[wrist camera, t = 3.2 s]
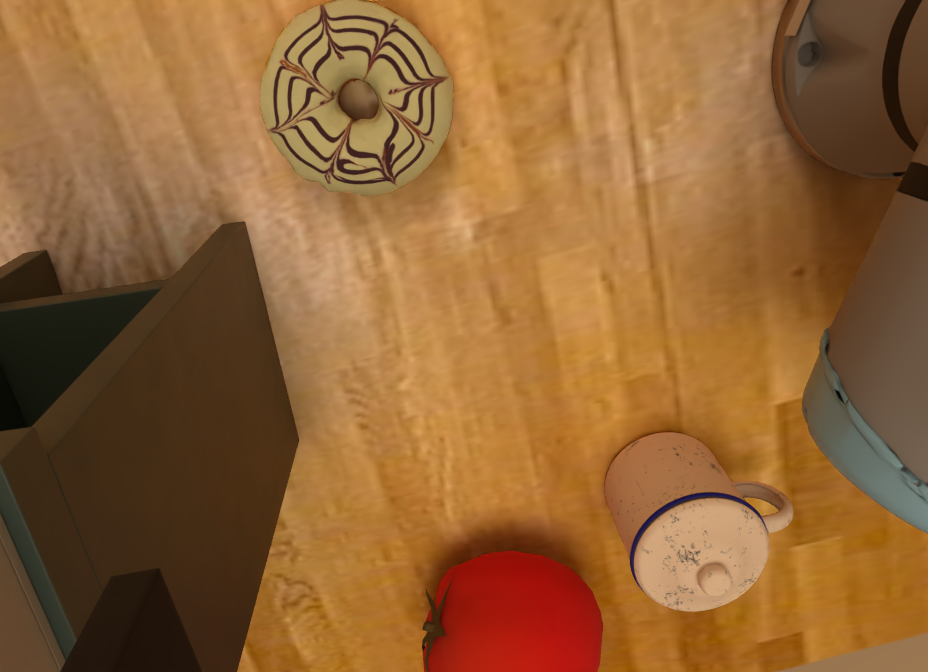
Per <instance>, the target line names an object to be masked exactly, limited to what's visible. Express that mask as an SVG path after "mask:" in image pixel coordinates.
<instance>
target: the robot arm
mask: <svg viewBox="0 0 928 672" xmlns="http://www.w3.org/2000/svg"><path fill="white" fill-rule="evenodd" d="M772 75H773V86H774V93H775V98H776V102H777V106H778V108H779V111H780V114H781V117H782V119H783V121H784V123H785V125H786V127H787V128H788V130H789V132H790V133H791V135H792V136H793V138H794V139H795V140H796V141H797V143H798V144H799V145H800V146H801V147H802V148H803V149H804V150H805V151H806V152H808V153H809V154H810V155H811V156H813V157H814V158H815V159H817V160H819V161H820V162H822V163H824V164H826V165H828V166H830V167H832V168H835V169H838V170H841V171H844V172H847V173H850V174H853V175H856V176H861V177H866V178H875V179H891V178H903V179H902V181H901V183H900V185H899V188H898V190H897V191H896V193H895V195H894V197H893V199H892V201H891V203H890V205H889V207H888V210H887V212H886V214H885V216H884V218H883V220H882V222H881V224H880V226H879V228H878V230H877V232H876V234H875V236H874V238H873V240H872V242H871V244H870V246H869V248H868V250H867V253H866V255H865V257H864V259H863V261H862V263H861V265H860V267H859V269H858V271H857V273H856V275H855V277H854V279H853V281H852V283H851V285H850V287H849V289H848V291H847V293H846V295H845V298H844V300H843V302H842V304H841V306H840V308H839V310H838V312H837V314H836V316H835V318H834V320H833V322H832V324H831V326H830V327H829V328H827V329H826V330H825V331H824V333H823V335H822V338H821V340H820V347H819V350H820V353H819V356H818V358H817V361H816V363H815V365H814V368H813V370H812V373H811V375H810V377H809V380H808V382H807V385H806V387H805V390H804V393H803V400H802V409H803V414H804V417H805V420H806V423H807V424H808V429H809V432H810V434H811V436H812V438H813V439H814V441H815V443H816V444H817V446H818V447H819V449H820V450H821V451H822V452H823V454H824V455H825V456H826V457H827V459H828V460H829V461H830V462H831V463H832V464H833V465H834V466H835V467H836V468H837V469H838V470H839V471H840V472H841V473H842V474H843V475H844V476H845V477H846V478H847V479H848V480H849V481H850V482H852V483H853V484H854V485H855V486H856V487H857V488H859V489H860V490H861V491H862V492H864V493H865V494H866V495H867V496H869V497H870V498H871V499H873V500H874V501H875V502H877V503H878V504H879V505H881V506H882V507H884V508H885V509H887V510H888V511H890V512H891V513H893V514H894V515H896V516H897V517H899V518H900V519H902V520H904V521H905V522H907V523H909V524H910V525H912V526H914V527H916V528H918V529H920V530H922V531H924V532H926V533H928V0H788V3H787V5H786V7H785V10H784V12H783V14H782V17H781V20H780V24H779V27H778V30H777V35H776V39H775V44H774V51H773V63H772ZM60 672H202V670H201V668H200V665H199V663H198V660H197V658H196V655H195V653H194V651H193V648H192V646H191V643H190V641H189V638H188V636H187V634H186V631H185V629H184V626H183V624H182V621H181V619H180V617H179V614H178V612H177V609H176V607H175V605H174V602H173V600H172V597H171V595H170V592H169V590H168V588H167V585H166V583H165V580H164V578H163V575H162V573H161V571H160V568H155V569H150V570H144V571H139V572H134V573H128V574H123V575H117V576H112V577H111V578H110V580H109V582H108V583H107V585H106V587H105V589H104V591H103V593H102V595H101V596H100V598H99V600H98V602H97V604H96V606H95V608H94V609H93V611H92V613H91V615H90V617H89V619H88V621H87V622H86V624H85V626H84V628H83V630H82V632H81V634H80V636H79V637H78V639H77V641H76V643H75V645H74V647H73V649H72V650H71V652H70V654H69V656H68V658H67V660H66V662H65V663H64V665H63V667H62V669H61V671H60Z"/></svg>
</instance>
